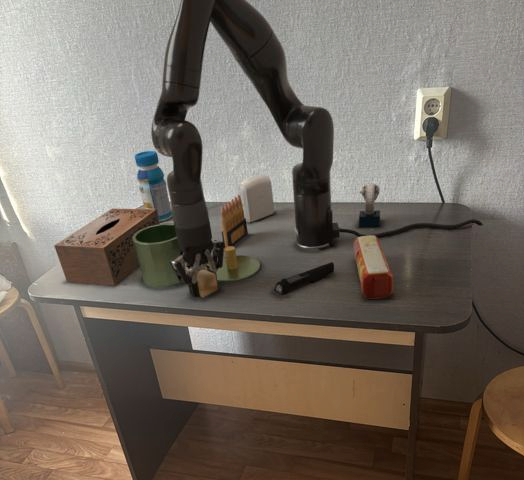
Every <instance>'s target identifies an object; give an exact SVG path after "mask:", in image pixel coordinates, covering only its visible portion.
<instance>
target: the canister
mask: <svg viewBox="0 0 524 480" xmlns="http://www.w3.org/2000/svg"><path fill="white" fill-rule="evenodd" d="M132 240H133V244H134V248H135V252H136V256H137V259H138V263H139V266H138V267H139V271H140V274H141V278H142V281H143V283H144V284H145V285H147V286H149V287H151V288H170V287H173V286H177V285H180V284H182V283H183V282H180V281H179V279H178V278H177V276H176V274H175V272H174V270H173V268H172V266H171V264H170V260H171V259H173V260H175V259H177V258H178V257H179V256H180V246H179V244H178V241H177V236H176V231H175V226H174V222H173V223H172V222H166V223H160V224H157V225H153V226H149V227H146V228H144V229H141V230H139V231H138V232H136V233H135V234H134V235H133V237H132ZM183 265H184V267H183V268H184V270H185V261H183ZM191 267H192V266H191ZM192 268H193V267H192ZM185 272H186V270H185ZM183 284H184V283H183Z"/></svg>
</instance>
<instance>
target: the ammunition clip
mask: <svg viewBox="0 0 524 480" xmlns="http://www.w3.org/2000/svg"><path fill="white" fill-rule="evenodd" d="M220 217H221V218H220V219H221V229H222V231H221V238H222V242H223V243H224V248H226V247H228V246H233V247H235V245H236V244H237V243H239V242H240V241H241V240H243V239H244V238H245V237H246V236H247V235H249V231H248V224H247V223H248V222H246V218H245V217H244V210H243V206H242V201H241V197H240V193H238V194H237V196H236V195H235V196H234V199H233V198H231V200H228V201H227V203H226V202H225V203H224V205H221V207H220Z"/></svg>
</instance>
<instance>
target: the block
mask: <svg viewBox="0 0 524 480" xmlns="http://www.w3.org/2000/svg"><path fill="white" fill-rule="evenodd" d="M196 282H197V283H198V288H199V294H200V296H199V297H201V298H205V297H207V296H209V295H210V294H212V293H214V292H216V291H218V290H219V288H218V284H217V280H216V274H214V273H212V272H209V271H206V270H205V269H204V268H203V269H201V270H200V269H199V273H197V281H196Z"/></svg>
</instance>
